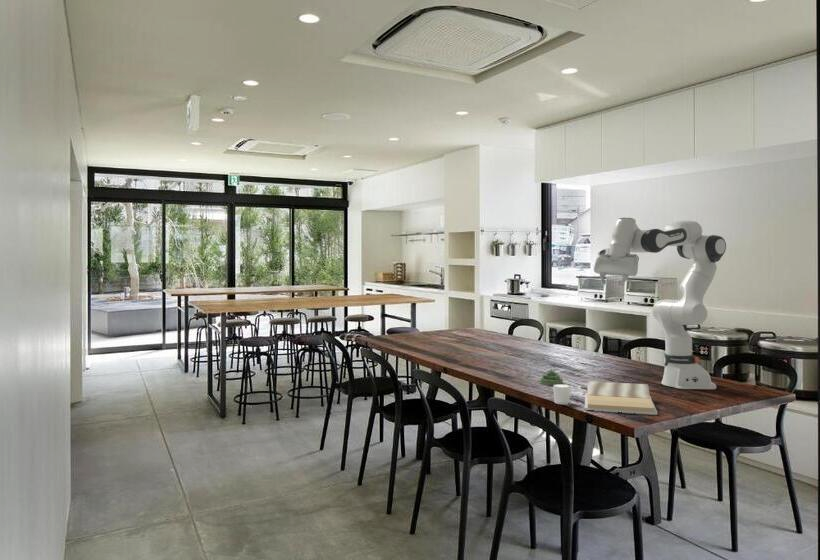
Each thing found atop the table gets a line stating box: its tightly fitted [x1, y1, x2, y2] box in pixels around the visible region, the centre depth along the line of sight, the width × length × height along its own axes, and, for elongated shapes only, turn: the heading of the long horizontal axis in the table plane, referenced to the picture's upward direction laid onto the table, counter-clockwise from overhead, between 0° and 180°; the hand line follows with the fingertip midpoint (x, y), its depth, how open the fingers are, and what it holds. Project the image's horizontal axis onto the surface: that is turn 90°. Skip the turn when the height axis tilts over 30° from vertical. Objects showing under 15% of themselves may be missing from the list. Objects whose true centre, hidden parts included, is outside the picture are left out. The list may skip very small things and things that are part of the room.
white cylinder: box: [552, 383, 571, 405], centre depth 235 cm, size 7×7×7 cm
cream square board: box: [584, 392, 659, 416], centre depth 231 cm, size 26×26×2 cm
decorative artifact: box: [540, 368, 564, 387], centre depth 270 cm, size 10×7×10 cm
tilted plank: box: [586, 381, 651, 399], centre depth 238 cm, size 24×9×2 cm, turn 73°
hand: (611, 284), depth 246 cm, fingers open, 8 cm apart
